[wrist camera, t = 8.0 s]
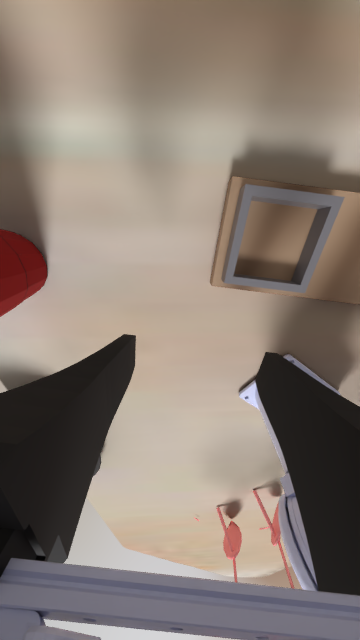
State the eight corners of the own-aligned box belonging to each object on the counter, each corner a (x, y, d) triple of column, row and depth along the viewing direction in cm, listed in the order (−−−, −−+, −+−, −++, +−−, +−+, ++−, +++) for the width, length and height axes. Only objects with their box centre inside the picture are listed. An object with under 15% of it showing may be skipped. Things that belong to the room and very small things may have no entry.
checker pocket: (329, 200, 14) (344, 196, 12) (295, 288, 16) (304, 293, 15) (240, 189, 13) (245, 184, 12) (221, 279, 16) (224, 283, 15)
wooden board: (513, 219, 15) (546, 217, 13) (442, 311, 18) (463, 317, 17) (228, 181, 15) (232, 176, 13) (210, 281, 18) (211, 285, 17)
